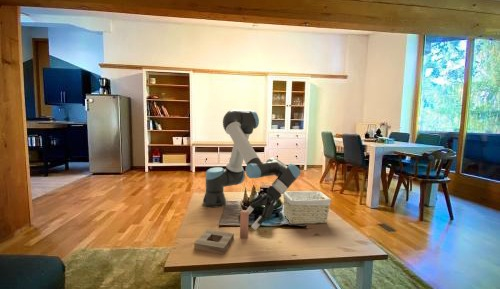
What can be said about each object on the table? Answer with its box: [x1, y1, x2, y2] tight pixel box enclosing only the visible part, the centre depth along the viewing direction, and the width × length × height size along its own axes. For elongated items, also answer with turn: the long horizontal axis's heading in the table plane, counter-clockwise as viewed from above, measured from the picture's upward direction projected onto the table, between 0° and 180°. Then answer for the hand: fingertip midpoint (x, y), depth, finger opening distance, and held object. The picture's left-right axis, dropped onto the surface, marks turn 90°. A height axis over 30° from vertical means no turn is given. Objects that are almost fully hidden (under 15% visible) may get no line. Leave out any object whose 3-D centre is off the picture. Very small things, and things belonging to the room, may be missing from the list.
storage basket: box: [282, 190, 332, 225], centre depth 152 cm, size 24×16×15 cm
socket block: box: [193, 229, 235, 255], centre depth 122 cm, size 14×14×3 cm
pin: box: [239, 209, 250, 240], centre depth 129 cm, size 4×4×13 cm
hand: (248, 222), depth 129 cm, fingers open, 13 cm apart
